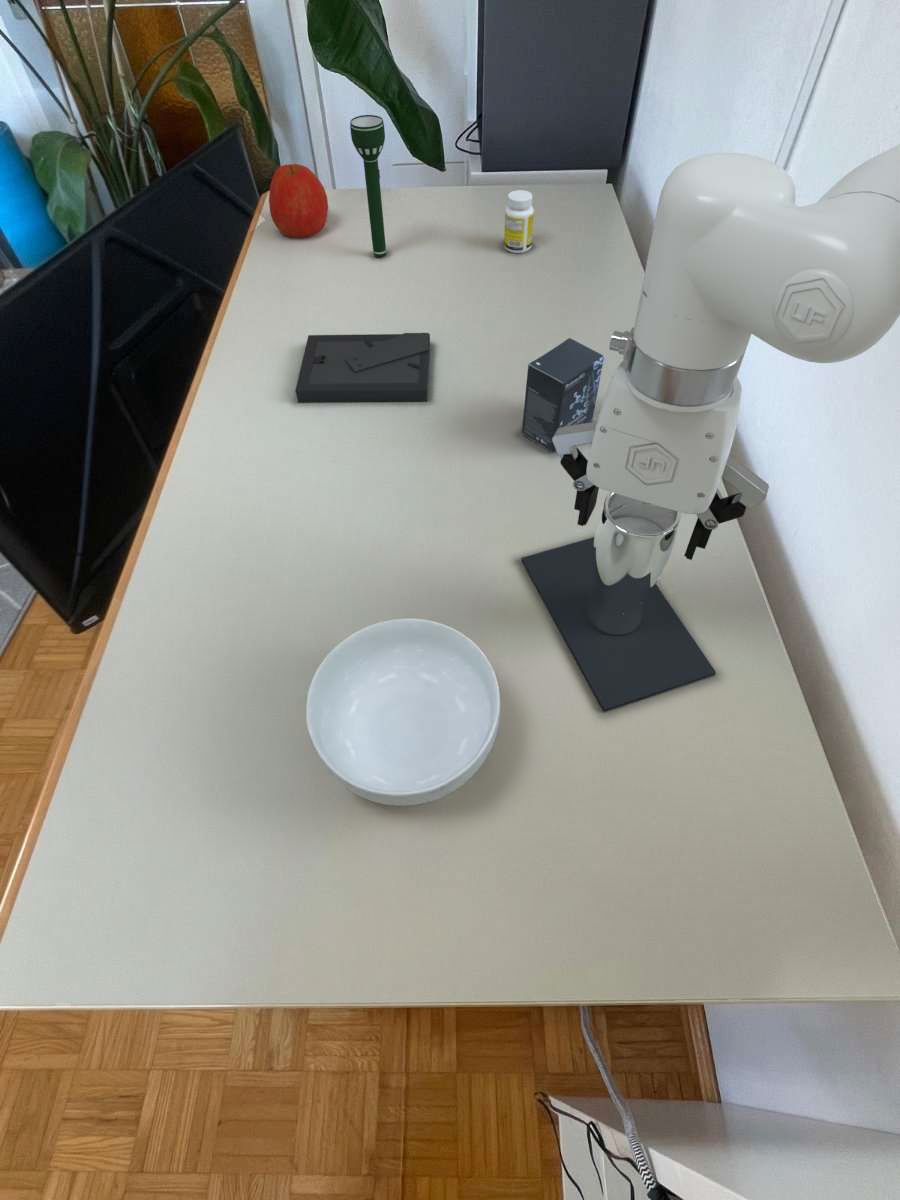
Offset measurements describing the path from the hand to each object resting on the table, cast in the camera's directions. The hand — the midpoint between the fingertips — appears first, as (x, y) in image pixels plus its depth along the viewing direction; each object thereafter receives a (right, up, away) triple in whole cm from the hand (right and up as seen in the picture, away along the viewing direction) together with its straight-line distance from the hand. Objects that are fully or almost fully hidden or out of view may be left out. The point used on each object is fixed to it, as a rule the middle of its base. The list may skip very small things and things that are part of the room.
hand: (637, 531), depth 62 cm
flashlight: (-29, +53, +57) cm, 83 cm away
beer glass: (0, -7, +10) cm, 12 cm away
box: (-3, +16, +28) cm, 33 cm away
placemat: (0, -8, +10) cm, 13 cm away
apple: (-43, +61, +64) cm, 98 cm away
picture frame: (-29, +26, +37) cm, 54 cm away
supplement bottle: (-5, +55, +58) cm, 80 cm away
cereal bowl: (-21, -19, +3) cm, 28 cm away
